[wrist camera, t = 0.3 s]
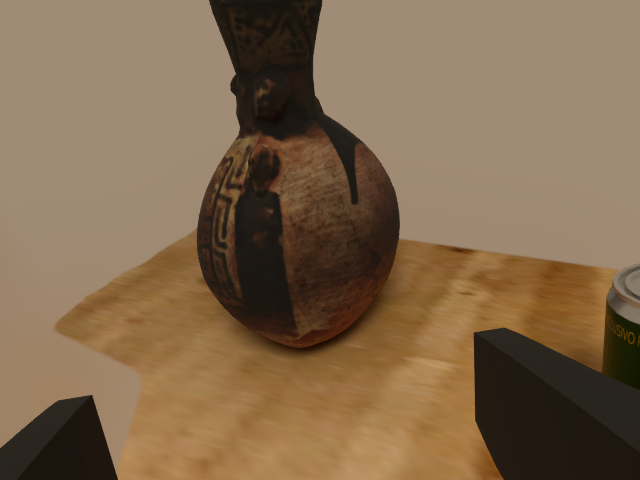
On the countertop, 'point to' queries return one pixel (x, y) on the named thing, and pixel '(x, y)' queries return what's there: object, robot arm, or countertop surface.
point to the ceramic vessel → (291, 189)
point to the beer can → (623, 328)
